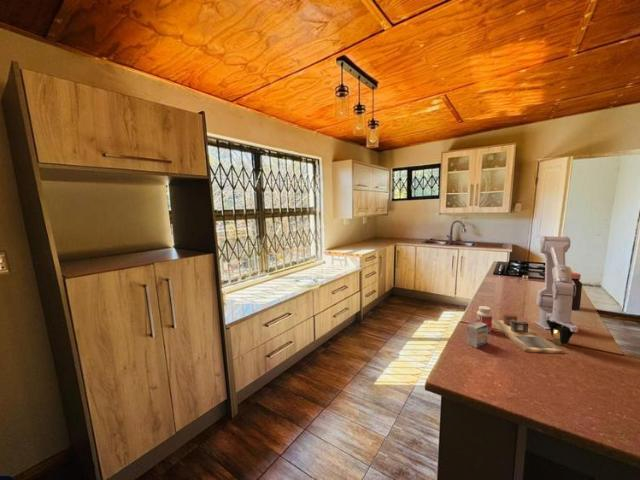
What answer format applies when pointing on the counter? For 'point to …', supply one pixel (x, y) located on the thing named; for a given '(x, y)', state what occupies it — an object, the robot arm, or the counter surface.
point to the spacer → (557, 337)
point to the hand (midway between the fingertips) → (559, 340)
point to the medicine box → (477, 334)
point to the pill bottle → (485, 316)
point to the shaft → (512, 318)
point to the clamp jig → (526, 337)
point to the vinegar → (577, 297)
